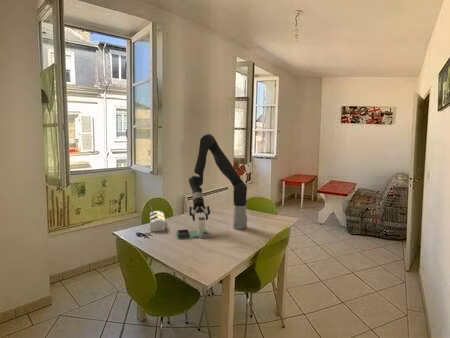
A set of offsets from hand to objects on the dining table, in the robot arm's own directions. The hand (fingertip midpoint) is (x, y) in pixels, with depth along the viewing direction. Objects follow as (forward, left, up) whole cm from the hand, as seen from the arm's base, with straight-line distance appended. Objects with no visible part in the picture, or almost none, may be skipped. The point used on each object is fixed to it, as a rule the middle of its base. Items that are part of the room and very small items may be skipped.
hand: (200, 220), depth 214 cm
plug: (0, +3, -8) cm, 9 cm away
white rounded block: (+28, -25, -10) cm, 39 cm away
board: (+6, +4, -10) cm, 12 cm away
